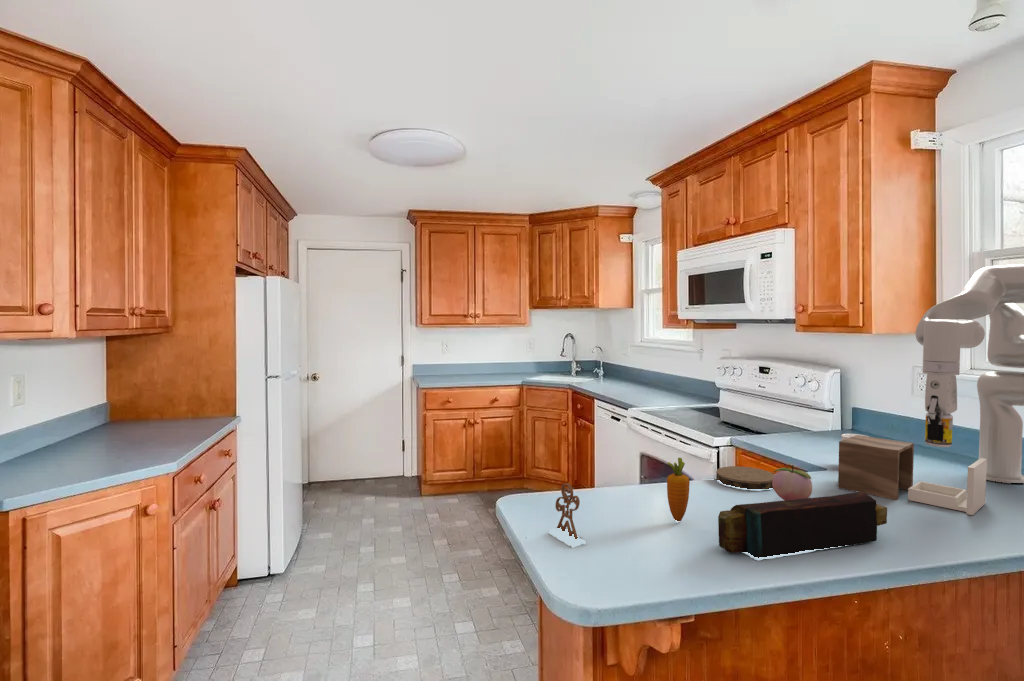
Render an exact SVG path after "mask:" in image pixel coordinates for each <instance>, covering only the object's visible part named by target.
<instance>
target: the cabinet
mask: <svg viewBox="0 0 1024 681" xmlns="http://www.w3.org/2000/svg"><path fill="white" fill-rule="evenodd" d="M860 435H861V434H860ZM860 435H856V436H853V437H850V438H848V439H845V440H842V439H841V440H840V441H838V470H837V471H838V472H837V473H838V476H837V478H838V479H837V488H838V487H839V488H838V489H842V488H844V489H843V490H846V489H848V490H847V491H851V490H853V491H852V492H856V491H858V492H859V493H866V494H867V495H869V496H870V495H871V496H875V497H880V498H885V499H890V500H894V501H895V500H896V501H898V500H899V489H900V490H904V491H905V490H906V491H908V488H910V487H911V486H913V485H914V456H915V455H914V454H915V453H914V452H915V451H914V449H915V442H911V441H910V442H909V441H902V440H901V441H900V440H894V439H889V438H887V439H886V438H881V437H874V436H869V437H867V436H868V435H865V436H860Z"/></svg>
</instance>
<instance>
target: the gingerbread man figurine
mask: <svg viewBox="0 0 1024 681" xmlns="http://www.w3.org/2000/svg"><path fill="white" fill-rule="evenodd" d="M566 486H567V487H568V488H567V487H566ZM565 487H566V488H565ZM568 494H569V495H568ZM561 499H562V500H563V504H561V503H560V501H561ZM580 502H581V501H580V497H579V495H574V489H573V486H572V484H570V483H566V482H565V483H562V484H561V496H559V497H558V498H557V499H556V500H555V510H556V511H557V512H559V513H560V512H561V517H560V519H559V521H558V524H557V526H556V528H560V527H561V529H562V531H565V529H568V532H569V536H572V534H574V537H575V539H577V538H578V537H577V535H578V534H577V530H576V527H575V524H574V521H573V512H575V511H577V510H578V509H579V507H580ZM572 503H573V504H574V505H575V507H574V508H570V505H571V504H572ZM565 504H566V505H565ZM564 518H567V519H566V520H565V522H564V525H563V521H564Z"/></svg>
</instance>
